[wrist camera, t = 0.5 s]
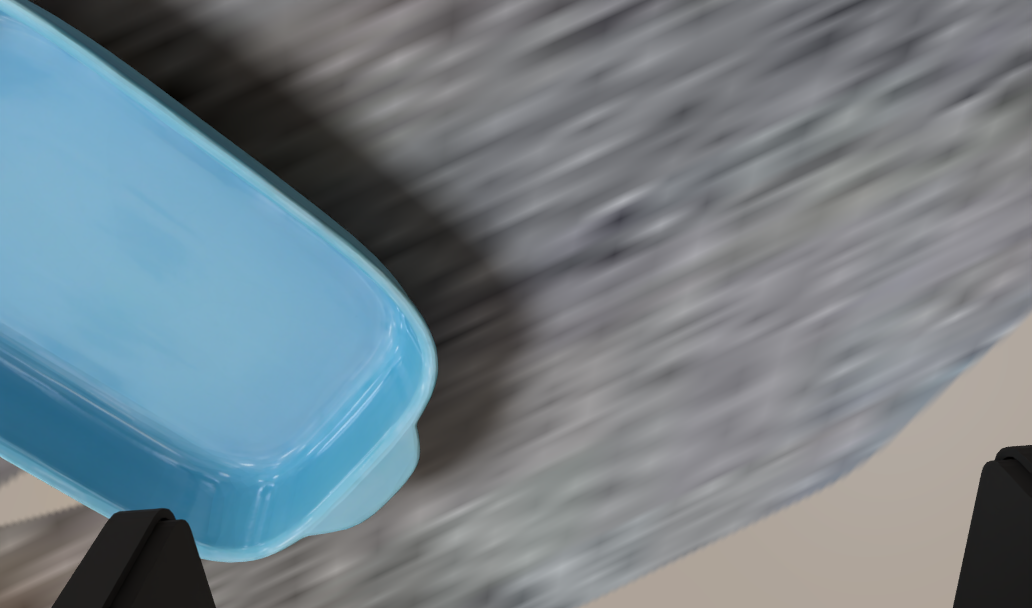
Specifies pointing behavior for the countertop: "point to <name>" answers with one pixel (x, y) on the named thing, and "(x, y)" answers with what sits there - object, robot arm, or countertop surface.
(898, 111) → the countertop surface
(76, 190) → the casserole dish
